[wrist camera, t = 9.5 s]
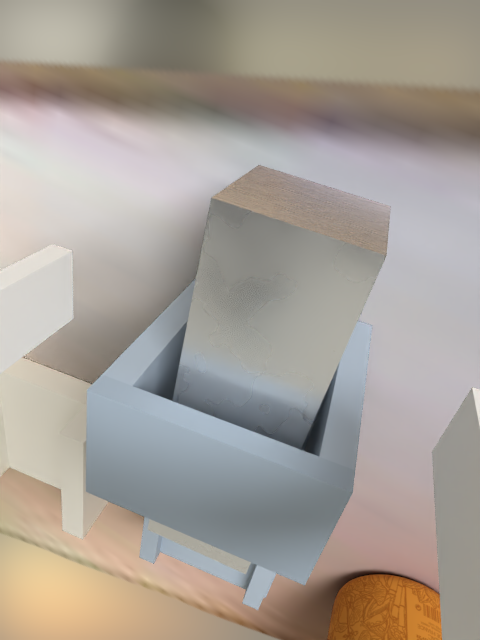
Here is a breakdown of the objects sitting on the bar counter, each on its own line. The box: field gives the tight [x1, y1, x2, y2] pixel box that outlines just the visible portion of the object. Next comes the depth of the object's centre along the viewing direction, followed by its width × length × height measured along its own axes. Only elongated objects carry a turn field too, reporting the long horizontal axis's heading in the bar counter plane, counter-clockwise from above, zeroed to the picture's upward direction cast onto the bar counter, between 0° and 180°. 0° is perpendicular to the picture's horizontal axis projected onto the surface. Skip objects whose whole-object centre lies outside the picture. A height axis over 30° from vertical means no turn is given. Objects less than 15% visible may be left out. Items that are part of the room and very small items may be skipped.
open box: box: [86, 279, 372, 610], centre depth 26 cm, size 10×22×12 cm, turn 169°
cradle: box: [0, 357, 109, 540], centre depth 35 cm, size 11×11×5 cm
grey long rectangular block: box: [147, 165, 391, 574], centre depth 21 cm, size 18×6×6 cm, turn 167°
